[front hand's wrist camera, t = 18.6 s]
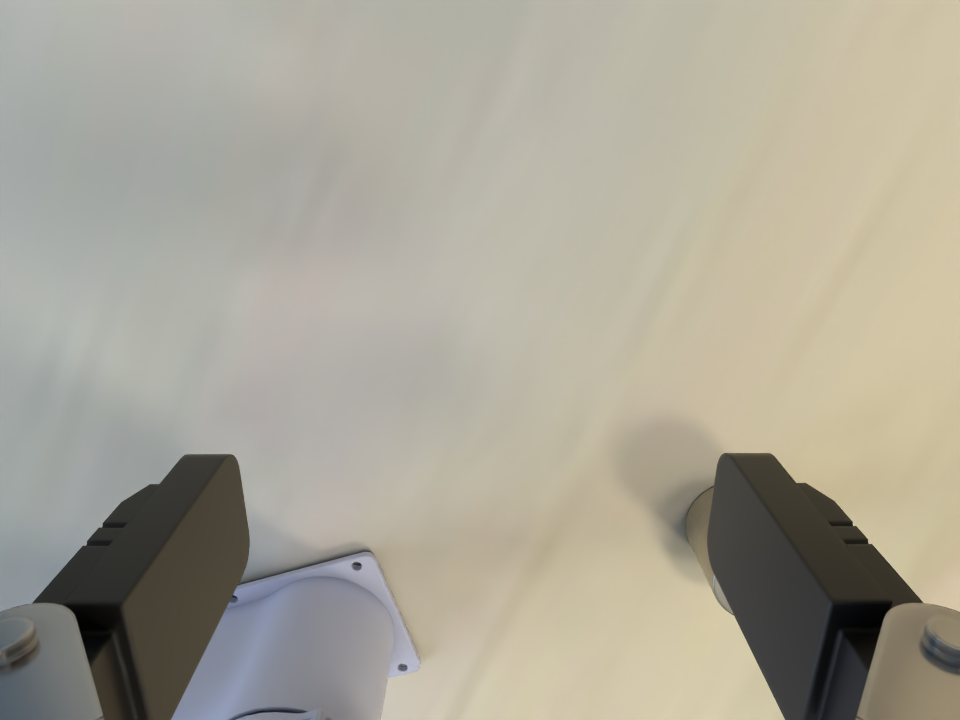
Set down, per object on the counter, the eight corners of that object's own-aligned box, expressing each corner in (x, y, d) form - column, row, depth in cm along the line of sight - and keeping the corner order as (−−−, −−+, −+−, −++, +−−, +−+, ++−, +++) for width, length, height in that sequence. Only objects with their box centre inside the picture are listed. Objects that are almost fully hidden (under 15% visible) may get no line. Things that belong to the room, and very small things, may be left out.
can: (683, 562, 35) (710, 624, 31) (686, 483, 34) (715, 537, 29) (775, 557, 35) (815, 619, 31) (782, 477, 33) (826, 530, 29)
